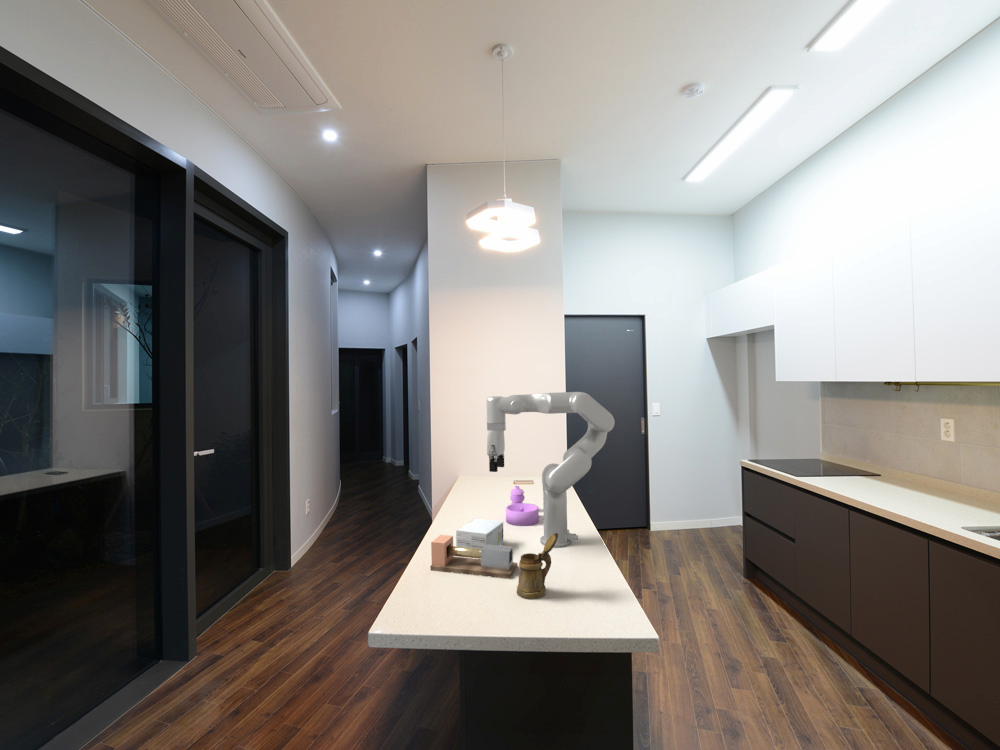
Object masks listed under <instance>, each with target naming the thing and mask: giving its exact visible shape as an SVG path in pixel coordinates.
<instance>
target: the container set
mask: <svg viewBox="0 0 1000 750" xmlns="http://www.w3.org/2000/svg"><path fill="white" fill-rule="evenodd" d="M524 493H525V491H524V490H523V489H522V488H520V486H519V485H515V486H514V488H513V489H511V490H510V496H509V500H510V501H511V504H508V505H506V507H505V521H506V523H507V524H508V525H511V526H515V527H529V526H535V525H536V524H539V521H540V519H539V517H540V516H539V514H540V513H539V506H538V505H537V504H533V503H528V502H527V503H526V502H524V501H525V494H524Z"/></svg>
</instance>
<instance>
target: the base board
mask: <svg viewBox="0 0 1000 750" xmlns="http://www.w3.org/2000/svg"><path fill="white" fill-rule="evenodd" d="M516 568H517V569H518V562H514V561H513V566H512V567H511V569H510V570H509V571H504V570H494V569H485V568H481V559H480V558H469V557H459V556H453V559H452V560H451V561H450V562H449V563H447V564H446V565H445V566H438V565H432V564H431V565H430V571H434V572H441V573H442V572H444V573H451V572H453V574H461V573H463V574H462V575H470V574H471V575H470V576H479V575H482V576H481V577H488V576H491V577H490V578H492V577H493V578H498V577H500V579H507V578H508V579H509V580H510V579H511V578H512V577H513V575H514V573H515V572H516V570H517V569H516ZM472 574H473V575H472ZM511 576H512V577H511Z"/></svg>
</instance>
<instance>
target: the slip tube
mask: <svg viewBox="0 0 1000 750" xmlns="http://www.w3.org/2000/svg"><path fill="white" fill-rule="evenodd" d="M447 555H449V556H453V557H463V558H473V559H481V549H477V548H466V547H456V546H454V545H453V546H447Z"/></svg>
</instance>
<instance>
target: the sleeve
mask: <svg viewBox="0 0 1000 750" xmlns="http://www.w3.org/2000/svg"><path fill="white" fill-rule="evenodd" d="M513 548H514V547H513V546H508V545H501V546H499V545H488V544H485V545H484V546H483V548H482V549H481V568H485V569H494V570H504V571H509V570H510V569H511V567H512V566H513V562H514V561H513V560H514V556H513V555H514V552H513Z"/></svg>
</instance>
